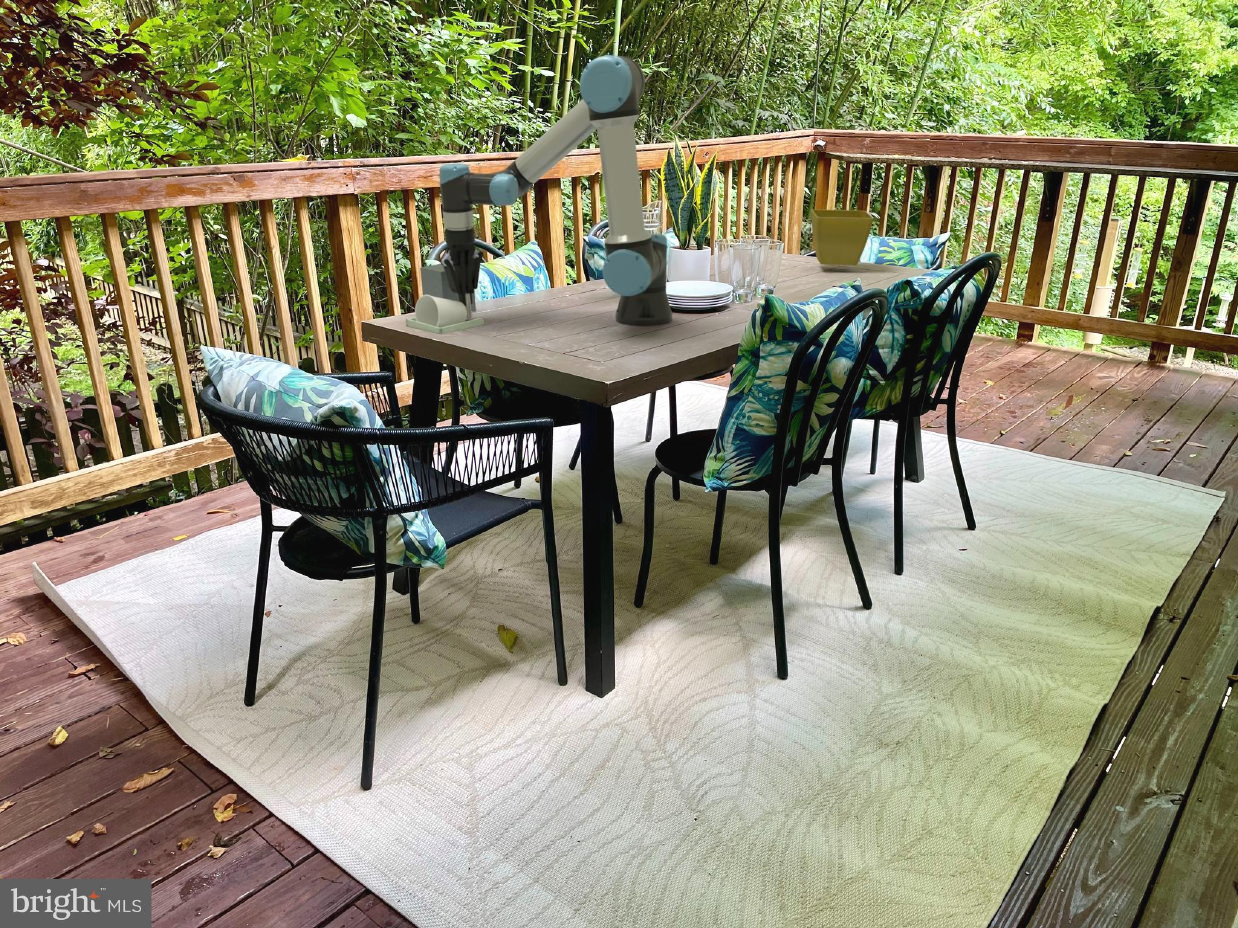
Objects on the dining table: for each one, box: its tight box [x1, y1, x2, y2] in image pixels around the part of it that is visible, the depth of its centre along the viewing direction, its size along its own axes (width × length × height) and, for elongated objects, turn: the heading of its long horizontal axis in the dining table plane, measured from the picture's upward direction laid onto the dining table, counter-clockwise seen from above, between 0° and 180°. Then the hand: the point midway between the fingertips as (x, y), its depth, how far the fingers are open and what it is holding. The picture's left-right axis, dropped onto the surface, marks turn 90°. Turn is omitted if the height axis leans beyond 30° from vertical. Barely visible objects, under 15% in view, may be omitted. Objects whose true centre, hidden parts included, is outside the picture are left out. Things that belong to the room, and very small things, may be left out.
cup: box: [414, 294, 468, 328], centre depth 231 cm, size 10×10×11 cm
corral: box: [405, 316, 485, 335], centre depth 233 cm, size 14×14×3 cm
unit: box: [419, 262, 477, 312], centre depth 247 cm, size 10×11×14 cm
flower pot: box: [810, 209, 874, 266], centre depth 312 cm, size 19×19×17 cm
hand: (467, 317), depth 238 cm, fingers closed
